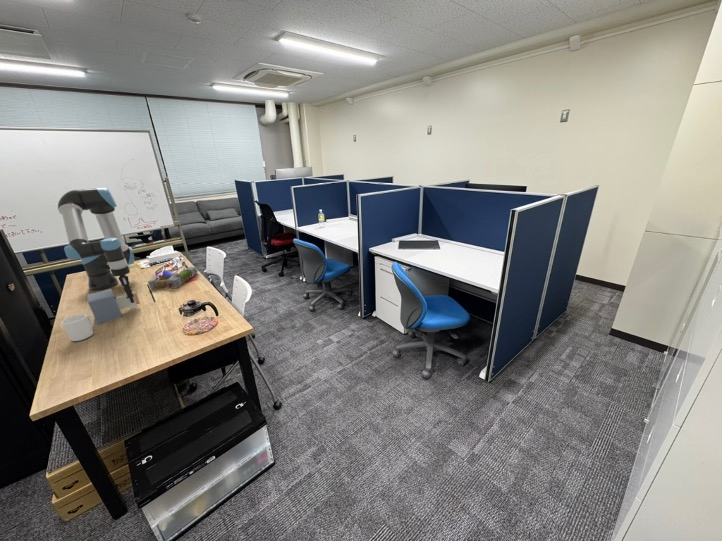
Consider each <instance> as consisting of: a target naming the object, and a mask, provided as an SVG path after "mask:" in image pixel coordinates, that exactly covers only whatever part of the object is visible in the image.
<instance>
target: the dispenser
mask: <svg viewBox="0 0 722 541" xmlns="http://www.w3.org/2000/svg"><path fill="white" fill-rule="evenodd" d="M115 299H116V294H115V292H114V291H113V289H112V288H107V289H103V290H101V291H96V292H93V293H88V294H87V303H88V306H89V307H90V310H91V312H92V315H93V318H94V319H95V322H96V324H97V325H101V324H104V323H107V322H111V321H114V320H117V319H121V318H122V313H121V309H120V310H119V308H118V305H117V303H116V300H115Z"/></svg>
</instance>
